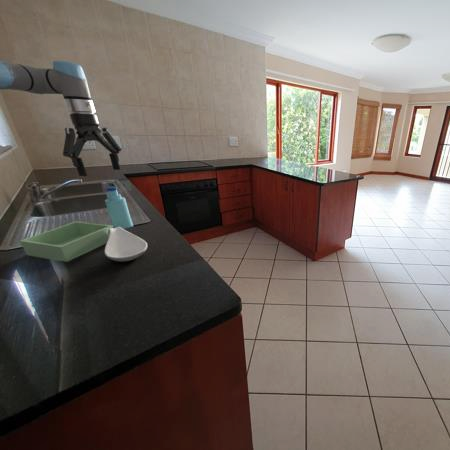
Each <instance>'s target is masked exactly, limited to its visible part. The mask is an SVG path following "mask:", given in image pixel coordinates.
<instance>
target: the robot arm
mask: <svg viewBox="0 0 450 450" xmlns="http://www.w3.org/2000/svg"><path fill="white" fill-rule="evenodd" d="M0 90H10V91H11V90H13V91H21V92H27V93H30V94H36V95H62V97H63V99H64V102H65V103H64V104H65V106H66V109H67V112H69V117H70V121H71V124H72V125H73V126H74V128H73V127H65V128H64V132H65V139H64V145H63V151H62V156H63V157H66V158H70V159H71V163H72V165H73V167H74V168H76V170H77V173H78V176H79V177H88V173H87V171H86V167H85V165H84V161H83V159H82V157H80V154H81V152H82V151H83V149H84V146H85V144H86V143H87V142H92V141H96V142H98V143H99V144H100V145H102V147H104V148H105V149H106V150H107V151H108V152H110V153H108V156H109V159H110V162H111V166H112V170H114V171H115V170H116V171H120V170H121V165H120V159H119V155H118V154H120V152H122V148H121V147H120V146H119V144H118V143H117V141H116V140H115V138H114V137H113V136H112V135H111V133H110V131H109V128H108V127H100V126H99V125H100V121H99V119H98V115H97V114H95V113H96V109H95V108H96V107H95V105H94V101H93V99H92V96H91V91H90V88H89V85H88V79H87V78H86V74H85V72H84V69H83V67H82V66H81V65H80V64H78V63H76V62H72V61H65V60H54V61H52V68H43V67H42V68H41V67H34V66H30V65H25V64H21V63H15V62H13V61H12V62H11V61H7V60H2V59H0ZM76 135H77V136H76Z"/></svg>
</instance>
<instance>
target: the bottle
mask: <svg viewBox="0 0 450 450" xmlns="http://www.w3.org/2000/svg"><path fill="white" fill-rule="evenodd" d="M105 190H106V192H107V193H108V195H106V198H107V199H105V200H104V203H105V206H106V209H107V212H108V214H109V219H110V221H111V223H112V227H113V228H117V227H121V228H123V229H124V230H126V229H129V228H131V227H134V223H133V220H132V217H131V214H130V211H129V207H128V204H127V200H126V198H125V197H124V196H122V194H120V193H118V187H117V186H116V185H114V186H113V185H112V186H106V187H105Z"/></svg>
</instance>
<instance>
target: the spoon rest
mask: <svg viewBox="0 0 450 450" xmlns="http://www.w3.org/2000/svg"><path fill="white" fill-rule="evenodd" d="M147 249H148V242H146V240H145V239H143V238H141V237H139V236H138V235H136V234H133V233H132V232H129V231H127V230H126V229H123V228H121V227H117V228H114V227H113V229H109V230H108V241H107V243H106V244H105V247H104V255H105V257H107V258H108V259H109V260H113V261H115V262H130V261H133V260H136V259H137V258H140V257H141V256H142V255H143V254H144V253H146V251H147Z"/></svg>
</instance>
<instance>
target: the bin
mask: <svg viewBox="0 0 450 450" xmlns="http://www.w3.org/2000/svg"><path fill="white" fill-rule="evenodd" d="M113 228H114V227H113V225H110V224H101V223H95V222H94V223H93V222H85V221H79V220H77V221H73V222H70V223H66V224H64V225H61V226H58V227H56V228H54V229H53V228H52V229H50V230H47V231H44V232H42V233H41V232H40V233H38V234H36V235H32V236H29V237H26V238H23V239H21V240H19V242H20V245H21V247H22V248H23V250H24V253H25V254H26V256H27V257H28V256H29V257H34V258H42V259H46V260H47V259H48V260H53V261H59V262H65V263H68V262H70V261H73V260H74V259H76V258H78V257H80V256H83V255H85V254H87V253H89V252H91V251H93V250H95V249H98V248H99V247H102V246H104V245H106V244H107V241H108V230H109V229H113Z"/></svg>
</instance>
